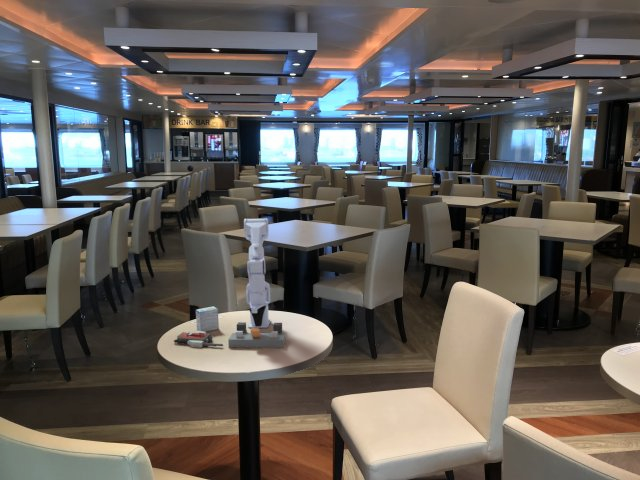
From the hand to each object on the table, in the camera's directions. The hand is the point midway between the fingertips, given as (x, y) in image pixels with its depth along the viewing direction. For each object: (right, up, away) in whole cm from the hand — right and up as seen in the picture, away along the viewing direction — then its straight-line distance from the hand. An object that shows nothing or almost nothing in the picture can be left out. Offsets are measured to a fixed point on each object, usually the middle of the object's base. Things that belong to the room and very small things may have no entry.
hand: (258, 325), depth 196 cm
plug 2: (+7, -5, +6) cm, 11 cm away
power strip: (0, -6, -2) cm, 7 cm away
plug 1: (-7, -5, +7) cm, 11 cm away
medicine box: (-22, -4, +14) cm, 27 cm away
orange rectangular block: (0, -4, -3) cm, 5 cm away
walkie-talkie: (-21, -7, 0) cm, 23 cm away
